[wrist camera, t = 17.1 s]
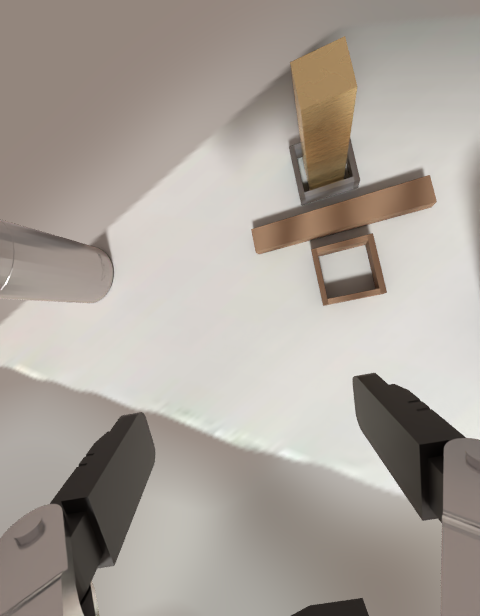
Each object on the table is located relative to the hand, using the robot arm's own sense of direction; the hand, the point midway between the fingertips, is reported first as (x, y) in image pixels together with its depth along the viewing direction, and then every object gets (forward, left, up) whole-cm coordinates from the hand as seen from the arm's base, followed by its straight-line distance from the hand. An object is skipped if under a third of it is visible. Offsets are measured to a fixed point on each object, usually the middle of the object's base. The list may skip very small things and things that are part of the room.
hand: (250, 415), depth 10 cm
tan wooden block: (+7, +21, -24) cm, 33 cm away
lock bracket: (+7, +14, -24) cm, 29 cm away
